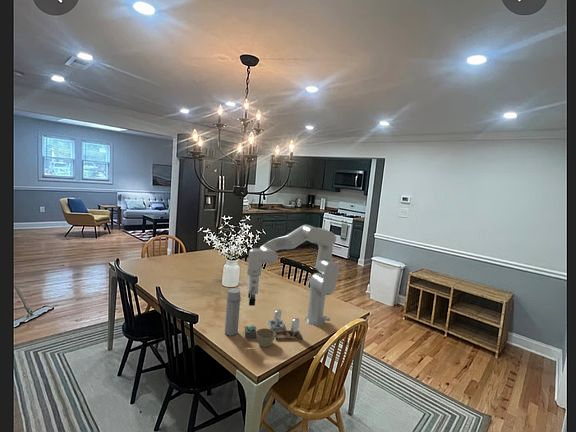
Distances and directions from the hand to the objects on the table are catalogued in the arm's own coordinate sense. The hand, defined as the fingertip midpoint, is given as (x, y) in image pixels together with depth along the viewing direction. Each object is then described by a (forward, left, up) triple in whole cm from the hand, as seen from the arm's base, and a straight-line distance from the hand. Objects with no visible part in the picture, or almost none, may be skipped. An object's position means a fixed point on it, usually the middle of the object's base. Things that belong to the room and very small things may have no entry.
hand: (251, 301), depth 168 cm
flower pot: (-8, +11, -20) cm, 24 cm away
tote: (-17, -7, -20) cm, 27 cm away
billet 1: (-17, -7, -19) cm, 26 cm away
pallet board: (-21, +4, -20) cm, 29 cm away
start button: (-1, +1, -17) cm, 17 cm away
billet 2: (-25, +4, -18) cm, 31 cm away
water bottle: (+9, -1, -20) cm, 22 cm away
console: (-1, +1, -20) cm, 20 cm away
